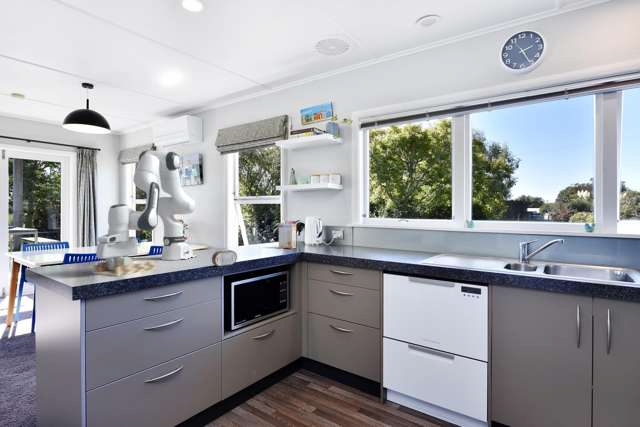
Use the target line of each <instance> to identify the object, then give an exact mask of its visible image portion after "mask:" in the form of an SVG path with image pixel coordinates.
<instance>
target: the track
mask: <svg viewBox="0 0 640 427" xmlns="http://www.w3.org/2000/svg"><path fill="white" fill-rule="evenodd" d="M150 270H151V271H152V270H156V260H152V261H146V262H145V261H144V262H138V263H135V259H132V258H131V265H126V266H124V264H122V263H120V264H115V270H107V262H106V261H105V262H104V261H103V262H97V264H93V265H92V274H94V275H101V276H102V275H103V276H113V277H114V276H115V277H120V276H125V275H131V274H136V273H141V272H145V271H150Z"/></svg>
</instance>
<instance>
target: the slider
mask: <svg viewBox="0 0 640 427" xmlns="http://www.w3.org/2000/svg"><path fill="white" fill-rule="evenodd" d="M131 260H132V257H130V256H128V257H123V256H120V257H114V260H113V261H114V263H116V264H120V263H122V264H124V266H126V265H131ZM105 262H107V270H115V267H111V263H110V262H109V260H108V258H105Z"/></svg>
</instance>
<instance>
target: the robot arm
mask: <svg viewBox="0 0 640 427" xmlns="http://www.w3.org/2000/svg"><path fill="white" fill-rule="evenodd" d="M180 164H181V159H180V156H179V154H178V153H176V152H175V151H167V150H160V149H159V150H143V151H141V152H140V153H139V155H138V163H137V166H136V168H135V170H134V173H133V177H132V179H133V183H134V186H135V187H136V188H138V189H139V190H142V191H143V192H145V193H146V201H145V202H146V203H145V208H144V210H143V211H141V210H140V211H138V210H135V209H132V208H130V207H129V206H128V204H125V203H120V204H114V205H111V206H110V207H109V209H108V213H107V214H108V216H107V217H108V218H107V221H108V222H107V223H108V230H107V234H105V235H102V236H99V237H97V242H98V243H97V244H96V252H95V253H96V254H95V255H96V257H97V259H100V260H103V259H104V260H106V258H108V260H109V262H110V263H111V267H115V264H116V263H114V261H113V260H114V257H129V256H133V255H138V252H139V247H138V246H139V245H138V242H137V241H138V239H137V237H135V236H130V231H143V232H152V231H153V230H154V229H155V228H156V227H157V225H158V223H159V222H158V221H159V218H158V216H159V217H160V219H161V221H162V224H163V238H162V242H163V245H162V251H161V252H162V253H161V257H160V259H161V260H164V261H181V259H185V260H189V259H192V258H191V257H193V258H196V257H195V256H197V255H196V254H193V251H194V250H193V247H191V246H190V245H189V244H188V243H187V242H186V240H187V241H188V239H189V238H188V236H184V224H183V223H182V221H180V220H178V219H176V218H175V216H174V215H189V214H193V213H194V211H195V210H196V202H195V200H194V199H193V198H191V197H190V196H189V195H187V194H186V192H185V191H184V189H183V187H182V183H181V177H180V172H179V167H180ZM158 177H159V182H160V185H159V184H158ZM160 188H161V190H162V191H163V192H164V193H166V194H168V195H169V196H160V193H161V192H160ZM197 257H198V256H197ZM188 258H189V259H188Z"/></svg>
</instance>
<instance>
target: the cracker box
mask: <svg viewBox="0 0 640 427" xmlns="http://www.w3.org/2000/svg"><path fill="white" fill-rule="evenodd" d="M280 248H296V249H297V223H287V222H286V223H284V222H283V223H281V222H279V223H278V249H280Z"/></svg>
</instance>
